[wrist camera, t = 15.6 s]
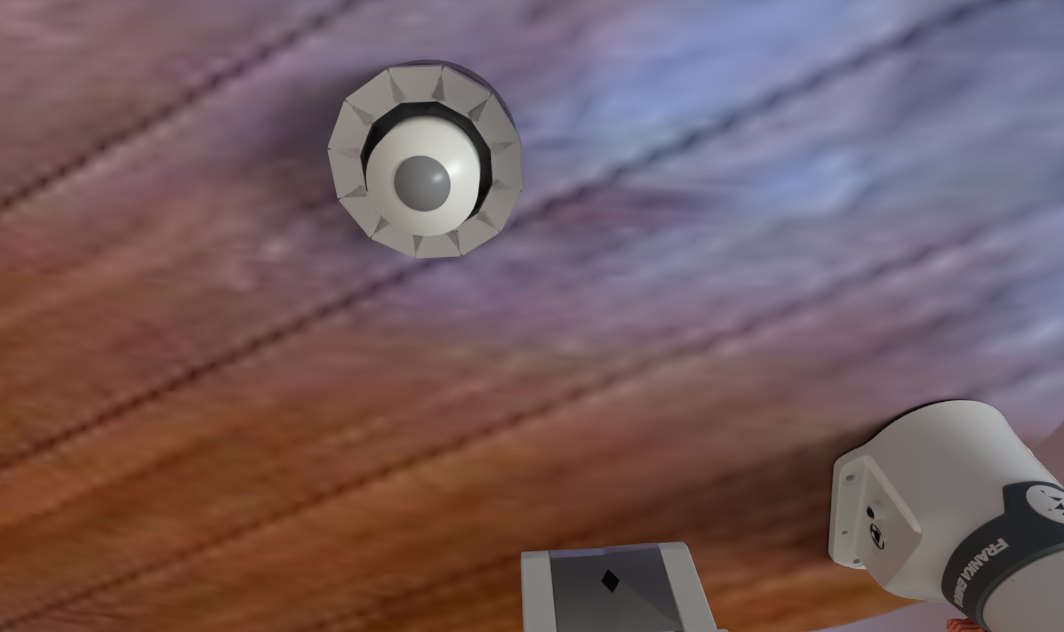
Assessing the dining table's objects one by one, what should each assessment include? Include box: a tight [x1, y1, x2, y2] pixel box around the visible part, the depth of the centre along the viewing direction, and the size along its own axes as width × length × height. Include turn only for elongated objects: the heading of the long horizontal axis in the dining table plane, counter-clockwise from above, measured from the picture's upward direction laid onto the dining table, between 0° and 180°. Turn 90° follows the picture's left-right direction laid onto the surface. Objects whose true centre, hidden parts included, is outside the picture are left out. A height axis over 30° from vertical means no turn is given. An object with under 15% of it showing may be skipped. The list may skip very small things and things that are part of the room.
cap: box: [366, 113, 481, 236], centre depth 31 cm, size 6×6×4 cm
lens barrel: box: [328, 60, 522, 258], centre depth 34 cm, size 11×11×5 cm
